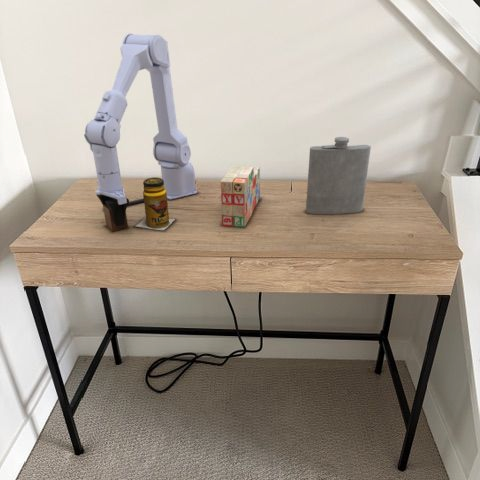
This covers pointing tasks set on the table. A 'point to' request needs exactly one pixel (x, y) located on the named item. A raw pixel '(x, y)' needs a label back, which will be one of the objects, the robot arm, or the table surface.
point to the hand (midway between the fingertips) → (116, 221)
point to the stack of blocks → (239, 195)
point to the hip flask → (337, 178)
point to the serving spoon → (136, 201)
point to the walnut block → (112, 220)
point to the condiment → (155, 205)
